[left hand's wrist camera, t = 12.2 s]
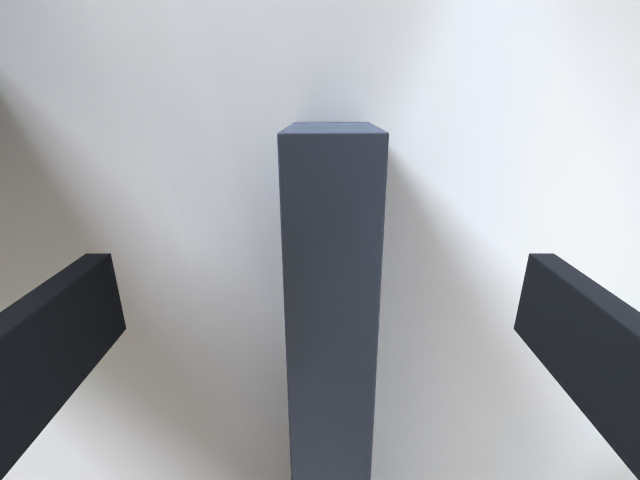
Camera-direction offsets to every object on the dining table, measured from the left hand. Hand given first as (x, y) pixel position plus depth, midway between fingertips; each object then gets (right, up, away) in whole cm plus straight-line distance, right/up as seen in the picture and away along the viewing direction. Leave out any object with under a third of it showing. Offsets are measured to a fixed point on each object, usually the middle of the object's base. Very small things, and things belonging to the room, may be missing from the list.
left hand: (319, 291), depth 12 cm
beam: (+1, -16, +22) cm, 27 cm away
